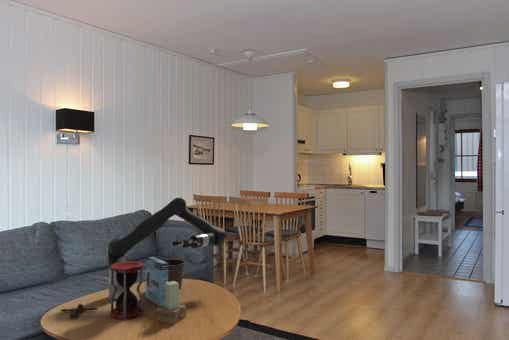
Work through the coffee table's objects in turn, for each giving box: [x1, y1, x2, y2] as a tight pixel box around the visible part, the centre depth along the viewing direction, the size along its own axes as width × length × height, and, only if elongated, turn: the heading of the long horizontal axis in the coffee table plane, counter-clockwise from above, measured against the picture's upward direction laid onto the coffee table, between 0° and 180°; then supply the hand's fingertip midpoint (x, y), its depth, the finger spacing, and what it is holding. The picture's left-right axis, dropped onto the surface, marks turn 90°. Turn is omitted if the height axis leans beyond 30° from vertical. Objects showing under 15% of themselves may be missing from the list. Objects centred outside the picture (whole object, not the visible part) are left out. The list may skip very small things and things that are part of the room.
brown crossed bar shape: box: [60, 302, 98, 320], centre depth 210 cm, size 18×4×14 cm
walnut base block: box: [156, 304, 187, 325], centre depth 203 cm, size 10×10×6 cm
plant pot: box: [162, 258, 186, 290], centre depth 255 cm, size 16×16×16 cm
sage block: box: [165, 281, 180, 310], centre depth 203 cm, size 5×5×12 cm
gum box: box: [144, 256, 169, 307], centre depth 230 cm, size 20×5×23 cm, turn 37°
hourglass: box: [109, 261, 144, 320], centre depth 210 cm, size 16×16×25 cm
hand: (177, 244), depth 227 cm, fingers open, 8 cm apart
